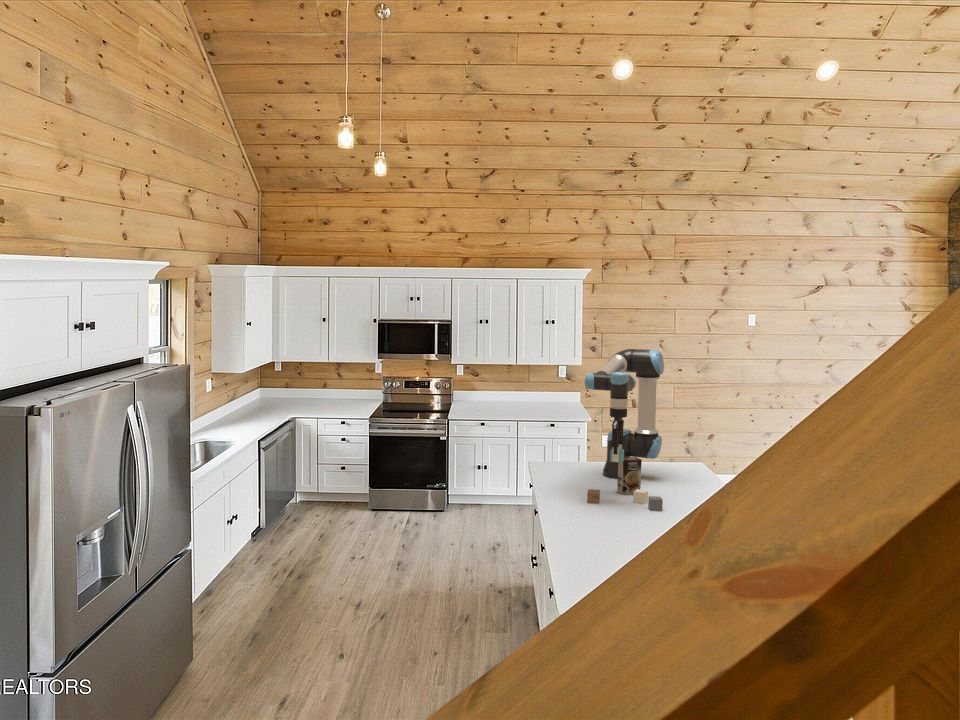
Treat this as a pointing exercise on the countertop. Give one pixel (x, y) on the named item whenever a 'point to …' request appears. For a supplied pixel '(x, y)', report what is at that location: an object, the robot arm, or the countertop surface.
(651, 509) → the charcoal cube
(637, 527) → the countertop surface
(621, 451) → the teal cube
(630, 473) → the coffee box
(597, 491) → the walnut cube
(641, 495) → the cream cube
